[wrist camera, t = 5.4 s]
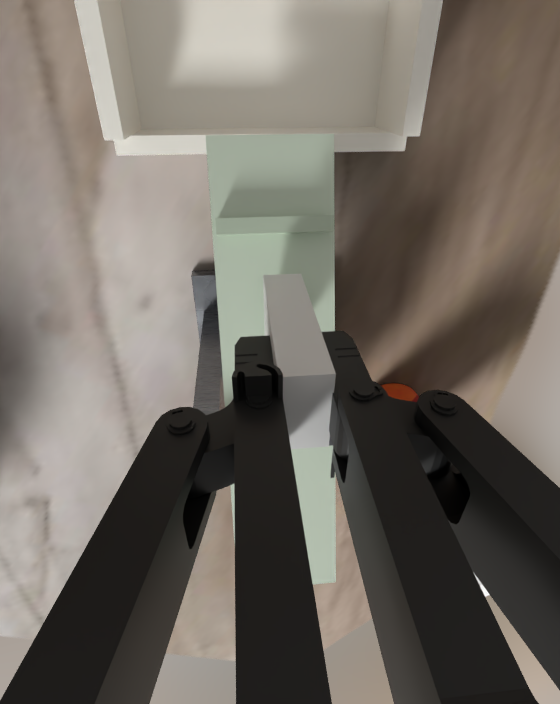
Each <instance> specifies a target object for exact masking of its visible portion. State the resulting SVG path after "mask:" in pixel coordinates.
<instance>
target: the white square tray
mask: <svg viewBox="0 0 560 704" xmlns="http://www.w3.org/2000/svg"><path fill="white" fill-rule="evenodd" d="M74 3H75V7H76V12H77V17H78V21H79V26H80V31H81V35H82V40H83V44H84V49H85V54H86V58H87V63H88V68H89V72H90V77H91V82H92V86H93V91H94V95H95V100H96V105H97V109H98V114H99V119H100V123H101V128H102V132H103V137H104V140H114V145H115V150H116V154H117V156H122V155H186V154H207V150H206V136H205V135H272V134H334V152H377V151H405V146H406V140H407V137H408V136H420V132H421V126H422V120H423V115H424V109H425V103H426V97H427V91H428V85H429V80H430V74H431V68H432V62H433V56H434V50H435V45H436V39H437V33H438V27H439V21H440V15H441V10H442V4H443V0H74Z"/></svg>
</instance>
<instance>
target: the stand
mask: <svg viewBox="0 0 560 704" xmlns="http://www.w3.org/2000/svg"><path fill="white" fill-rule="evenodd" d="M191 277H192V285H193V292H194V300H195V308H196V315H197V323H198V331H199V338H200V351H199V360H198V369H197V378H196V387H195V396H194V405H193V408H196V409H199V410H200V411H202V412H203V413H204V414H205V415H208V414H211V413H215V412H217V411H220V410H222V409H223V408H225V402H224V388H223V374H222V360H221V346H220V332H219V318H218V304H217V290H216V276H215V270H206V271H192V276H191Z"/></svg>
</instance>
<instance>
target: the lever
mask: <svg viewBox="0 0 560 704" xmlns="http://www.w3.org/2000/svg"><path fill="white" fill-rule="evenodd" d="M205 136H206V150H207V164H208V178H209V192H210V206H211V220H212V234H213V248H214V262H215V276H216V290H217V304H218V318H219V332H220V346H221V360H222V374H223V388H224V402H225V407H226V406H228V405H229V404H230V403H231V402H232V400H233V387H232V375H233V372H234V371H235V344H236V343H237V341H238V340H239V338H240V337H248V336H265V334H264V293H263V275H277V274H301V275H302V277H303V280H304V283H305V286H306V289H307V292H308V295H309V298H310V301H311V303H312V306H313V309H314V312H315V315H316V318H317V321H318V324H319V327H320V329H321V332H328V331H335V243H334V134H272V135H205ZM291 453H292V459H293V465H294V471H295V478H296V484H297V490H298V496H299V502H300V509H301V515H302V521H303V527H304V534H305V540H306V546H307V552H308V559H309V565H310V571H311V577H312V583H313V584H323V583H332V582H336V522H335V476H334V478H331V463H332V453H333V444H332V440H331V436H330V439H329V447H315V448H301V449H291ZM230 486H231V500H232V514H233V528H234V542H235V495H234V484H232V485H230Z"/></svg>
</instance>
